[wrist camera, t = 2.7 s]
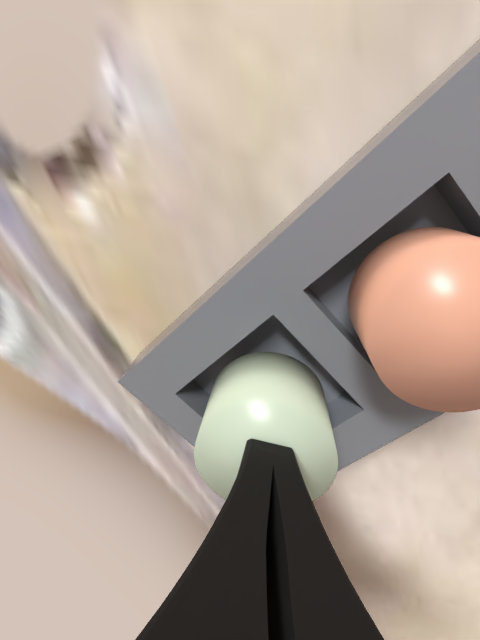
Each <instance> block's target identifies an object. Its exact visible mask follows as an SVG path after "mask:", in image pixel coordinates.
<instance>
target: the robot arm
mask: <svg viewBox="0 0 480 640" xmlns="http://www.w3.org/2000/svg"><path fill="white" fill-rule="evenodd" d="M136 640H384V638H383V637H382V635H381V634H380V632H379V630H378V629H377V627H376V625H375V624H374V622H373V620H372V618H371V617H370V615H369V613H368V612H367V610H366V608H365V607H364V605H363V603H362V601H361V600H360V598H359V596H358V594H357V593H356V591H355V589H354V587H353V585H352V584H351V582H350V580H349V578H348V576H347V574H346V572H345V570H344V568H343V567H342V565H341V563H340V561H339V559H338V557H337V555H336V553H335V551H334V549H333V547H332V544H331V542H330V540H329V538H328V536H327V534H326V532H325V530H324V528H323V525H322V523H321V521H320V518H319V516H318V514H317V511H316V509H315V507H314V505H313V502H312V500H311V497H310V495H309V492H308V490H307V487H306V485H305V482H304V479H303V477H302V474H301V471H300V468H299V466H298V463H297V460H296V457H295V453H294V451H293V449H292V448H291V447H286V446H282V445H278V444H273V443H269V442H265V441H261V440H256V439H252V438H251V439H249V440H247V442H246V445H245V449H244V453H243V456H242V460H241V464H240V467H239V471H238V474H237V477H236V480H235V482H234V484H233V486H232V489H231V491H230V493H229V495H228V497H227V499H226V501H225V503H224V505H223V507H222V509H221V511H220V513H219V515H218V516H217V518H216V520H215V522H214V524H213V526H212V528H211V529H210V531H209V533H208V534H207V536H206V538H205V540H204V541H203V543H202V545H201V546H200V548H199V550H198V551H197V553H196V554H195V556H194V558H193V559H192V561H191V562H190V564H189V565H188V567H187V568H186V570H185V571H184V573H183V574H182V576H181V577H180V579H179V580H178V582H177V583H176V585H175V586H174V588H173V589H172V591H171V592H170V593H169V595H168V596H167V598H166V599H165V601H164V602H163V603H162V605H161V606H160V608H159V609H158V610H157V612H156V613H155V614H154V616H153V617H152V618H151V620H150V621H149V622H148V624H147V625H146V626H145V628H144V629H143V630H142V632H141V633H140V634H139V636H138V637H137V638H136Z"/></svg>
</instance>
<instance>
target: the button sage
mask: <svg viewBox="0 0 480 640" xmlns="http://www.w3.org/2000/svg"><path fill="white" fill-rule="evenodd" d="M251 438H252V439H256V440H261V441H265V442H269V443H273V444H278V445H282V446H286V447H291V448H292V449H293V451H294V453H295V457H296V460H297V463H298V466H299V468H300V471H301V474H302V477H303V479H304V482H305V485H306V487H307V490H308V492H309V495H310V497H311V500H312V502H313V501H314V500H316V499H318V498H319V497H320V496H321V495H323V494H324V493H325V492H326V490H327V489H328V488H329V487H330V485H331V484H332V483H333V480H334V478H335V476H336V473H337V469H338V454H337V450H336V445H335V440H334V436H333V431H332V426H331V422H330V417H329V412H328V408H327V403H326V398H325V394H324V390H323V387H322V384H321V382H320V380H319V379H318V377H317V376H316V374H315V373H314V372H313V371H312V370H311V369H310V368H309V367H308V366H307V365H305V364H304V363H302V362H301V361H299V360H297V359H295V358H293V357H291V356H288V355H285V354H281V353H275V352H256V353H251V354H247V355H244V356H241V357H239V358H237V359H235V360H233V361H232V362H230V363H229V364H228V365H227V366H225V367H224V368H223V369H222V371H221V372H220V373H219V374H218V376H217V378H216V380H215V382H214V384H213V388H212V391H211V394H210V397H209V400H208V404H207V407H206V410H205V413H204V416H203V420H202V423H201V426H200V429H199V432H198V436H197V439H196V442H195V447H194V459H195V464H196V467H197V470H198V472H199V474H200V476H201V478H202V479H203V481H204V482H205V483H206V484H207V486H208V487H209V488H210V489H211V490H212V491H214V492H215V493H216V494H217V495H219V496H220V497H221V498H223V499H225V500H226V499H227V497H228V495H229V493H230V491H231V489H232V486H233V484H234V482H235V480H236V477H237V474H238V471H239V467H240V464H241V460H242V456H243V453H244V449H245V445H246V442H247V440H249V439H251Z"/></svg>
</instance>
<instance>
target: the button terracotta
mask: <svg viewBox="0 0 480 640" xmlns="http://www.w3.org/2000/svg"><path fill="white" fill-rule="evenodd" d="M347 302H348V312H349V317H350V320H351V322H352V325H353V327H354V329H355V331H356V333H357V335H358V337H359V339H360V341H361V343H362V345H363V347H364V349H365V351H366V352H367V354H368V356H369V358H370V360H371V362H372V364H373V366H374V368H375V370H376V372H377V374H378V376H379V378H380V379H381V381H382V382H383V383H384V384H385V386H386V387H387V388H388V389H389V390H390V391H391V392H392V393H393V394H395V395H396V396H398V397H399V398H400V399H402V400H404V401H406V402H408V403H409V404H412V405H414V406H417V407H420V408H423V409H427V410H432V411H439V412H465V411H471V410H477V409H480V237H477V236H474V235H470V234H467V233H463V232H460V231H457V230H453V229H449V228H444V227H421V228H415V229H411V230H408V231H404V232H402V233H399V234H397V235H395V236H393V237H391V238H389V239H387V240H385V241H384V242H383V243H381V244H380V245H378V246H377V247H376V248H375V249H374V250H372V251H371V252H370V253H369V254H368V255H367V257H366V258H365V259H364V260H363V261H362V263H361V264H360V266H359V267H358V268H357V270H356V272H355V274H354V276H353V278H352V281H351V284H350V288H349V292H348V301H347Z"/></svg>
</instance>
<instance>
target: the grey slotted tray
mask: <svg viewBox="0 0 480 640" xmlns="http://www.w3.org/2000/svg"><path fill="white" fill-rule="evenodd" d="M421 227H444V228H449V229H453V230H457V231H460V232H463V233H467V234H470V235H474V236H477V237H480V39H479V40H478V41H477V42H476V43H475V44H474V45H473V46H472V47H471V48H470V49H469V50H468V51H466V52H465V53H464V54H463V55H462V56H461V57H460V58H459V59H458V60H457V61H456V62H455V63H453V64H452V65H451V66H450V67H449V68H448V69H447V70H446V71H445V72H444V73H443V74H442V75H441V76H439V77H438V78H437V79H436V80H435V81H434V82H433V83H432V84H431V85H430V86H429V87H428V88H426V89H425V90H424V91H423V92H422V93H421V94H420V95H419V96H418V97H417V98H416V99H415V100H413V101H412V102H411V103H410V104H409V105H408V106H407V107H406V108H405V109H404V110H403V111H402V112H400V113H399V114H398V115H397V116H396V117H395V118H394V119H393V120H392V121H391V122H390V123H389V124H387V125H386V126H385V127H384V128H383V129H382V130H381V131H380V132H379V133H378V134H377V135H376V136H375V137H373V138H372V139H371V140H370V141H369V142H368V143H367V144H366V145H365V146H364V147H363V148H362V149H360V150H359V151H358V152H357V153H356V154H355V155H354V156H353V157H352V158H351V159H350V160H349V161H347V162H346V163H345V164H344V165H343V166H342V167H341V168H340V169H339V170H338V171H337V172H336V173H334V174H333V175H332V176H331V177H330V178H329V179H328V180H327V181H326V182H325V183H324V184H323V185H321V186H320V187H319V188H318V189H317V190H316V191H315V192H314V193H313V194H312V195H311V196H310V197H309V198H307V199H306V200H305V201H304V202H303V203H302V204H301V205H300V206H299V207H298V208H297V209H296V210H294V211H293V212H292V213H291V214H290V215H289V216H288V217H287V218H286V219H285V220H284V221H283V222H281V223H280V224H279V225H278V226H277V227H276V228H275V229H274V230H273V231H272V232H271V233H270V234H268V235H267V236H266V237H265V238H264V239H263V240H262V241H261V242H260V243H259V244H258V245H257V246H255V247H254V248H253V249H252V250H251V251H250V252H249V253H248V254H247V255H246V256H245V257H244V258H242V259H241V260H240V261H239V262H238V263H237V264H236V265H235V266H234V267H233V268H232V269H231V270H230V271H228V272H227V273H226V274H225V275H224V276H223V277H222V278H221V279H220V280H219V281H218V282H217V283H215V284H214V285H213V286H212V287H211V288H210V289H209V290H208V291H207V292H206V293H205V294H204V295H202V296H201V297H200V298H199V299H198V300H197V301H196V302H195V303H194V304H193V305H192V306H191V307H189V308H188V309H187V310H186V311H185V312H184V313H183V314H182V315H181V316H180V317H179V318H178V319H176V320H175V321H174V322H173V323H172V324H171V325H170V326H169V327H168V328H167V329H166V330H165V331H164V332H162V333H161V334H160V335H159V336H158V337H157V338H156V339H155V340H154V341H153V342H152V343H151V344H149V345H148V346H147V347H146V348H145V349H144V350H143V351H142V352H141V353H140V354H139V355H138V357H137V358H136V359H135V360H134V362H133V363H132V364H131V365H130V367H129V368H128V369H127V371H126V372H125V373H124V374H123V376H122V377H121V378H120V379H119V381H118V382H119V383H120V384H121V385H122V386H123V387H124V388H126V389H127V390H128V391H129V392H130V393H132V394H133V395H134V396H135V397H136V398H137V399H139V400H140V401H141V402H142V403H143V404H144V405H146V406H147V407H148V408H149V409H150V410H152V411H153V412H154V413H155V414H156V415H157V416H159V417H160V418H161V419H162V420H163V421H164V422H166V423H167V424H168V425H169V426H170V427H171V428H173V429H174V430H175V431H176V432H177V433H179V434H180V435H181V436H182V437H183V438H184V439H186V440H187V441H188V442H189V443H190V444H191V445H193V446H194V447H195V442H196V439H197V436H198V432H199V429H200V426H201V423H202V420H203V416H204V413H205V410H206V407H207V404H208V400H209V397H210V394H211V391H212V388H213V384H214V382H215V380H216V378H217V376H218V374H219V373H220V372H221V371H222V369H223V368H224V367H225V366H227V365H228V364H229V363H230V362H232V361H233V360H235V359H237V358H239V357H241V356H244V355H247V354H251V353H256V352H275V353H281V354H285V355H288V356H291V357H293V358H295V359H297V360H299V361H301V362H302V363H304V364H305V365H307V366H308V367H309V368H310V369H311V370H312V371H313V372H314V373H315V374H316V376H317V377H318V379H319V380H320V382H321V384H322V387H323V390H324V394H325V398H326V403H327V408H328V412H329V417H330V422H331V426H332V431H333V436H334V440H335V445H336V450H337V454H338V469H337V471H339V470H340V469H342V468H344V467H346V466H348V465H350V464H351V463H353V462H355V461H357V460H359V459H361V458H362V457H364V456H366V455H368V454H370V453H372V452H373V451H375V450H377V449H379V448H381V447H382V446H384V445H386V444H388V443H390V442H392V441H393V440H395V439H397V438H399V437H401V436H403V435H404V434H406V433H408V432H410V431H412V430H414V429H415V428H417V427H419V426H421V425H423V424H425V423H426V422H428V421H430V420H432V419H434V418H435V417H437V416H439V415H441V414H443V413H445V412H439V411H432V410H427V409H423V408H420V407H417V406H414V405H412V404H409V403H408V402H406V401H404V400H402V399H400V398H399V397H398V396H396V395H395V394H393V393H392V392H391V391H390V390H389V389H388V388H387V387H386V386H385V384H384V383H383V382H382V381H381V379H380V378H379V376H378V374H377V372H376V370H375V368H374V366H373V364H372V362H371V360H370V358H369V356H368V354H367V352H366V351H365V349H364V347H363V345H362V343H361V341H360V339H359V337H358V335H357V333H356V331H355V329H354V327H353V325H352V322H351V320H350V317H349V312H348V302H347V301H348V292H349V288H350V284H351V281H352V278H353V276H354V274H355V272H356V270H357V268H358V267H359V266H360V264H361V263H362V261H363V260H364V259H365V258H366V257H367V255H368V254H369V253H370V252H371V251H372V250H374V249H375V248H376V247H377V246H378V245H380V244H381V243H383V242H384V241H385V240H387V239H389V238H391V237H393V236H395V235H397V234H399V233H402V232H404V231H408V230H411V229H415V228H421Z"/></svg>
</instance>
